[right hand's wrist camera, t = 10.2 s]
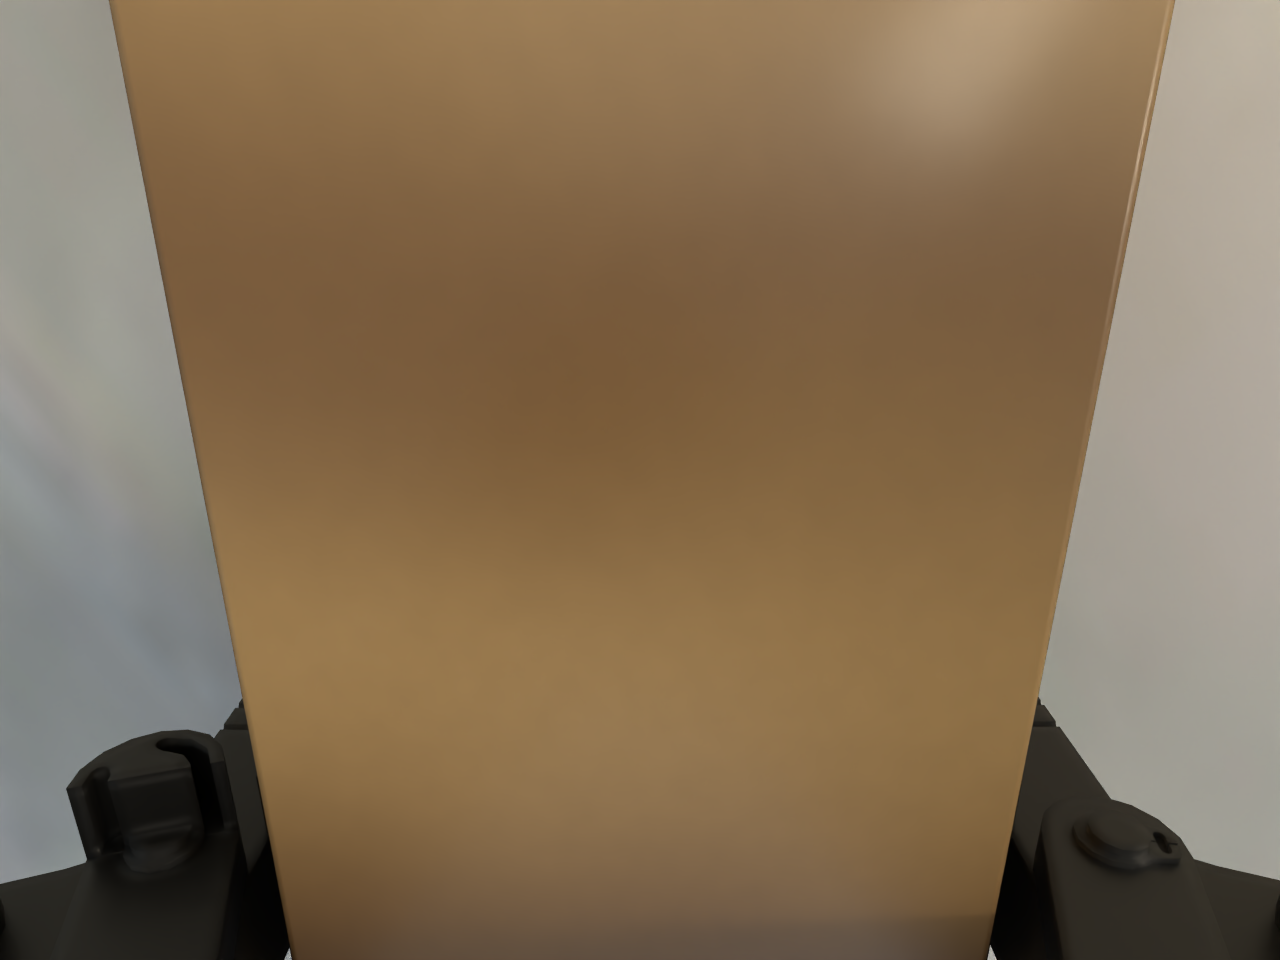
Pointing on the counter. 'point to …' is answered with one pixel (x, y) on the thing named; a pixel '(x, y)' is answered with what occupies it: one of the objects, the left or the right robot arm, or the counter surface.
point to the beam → (640, 446)
